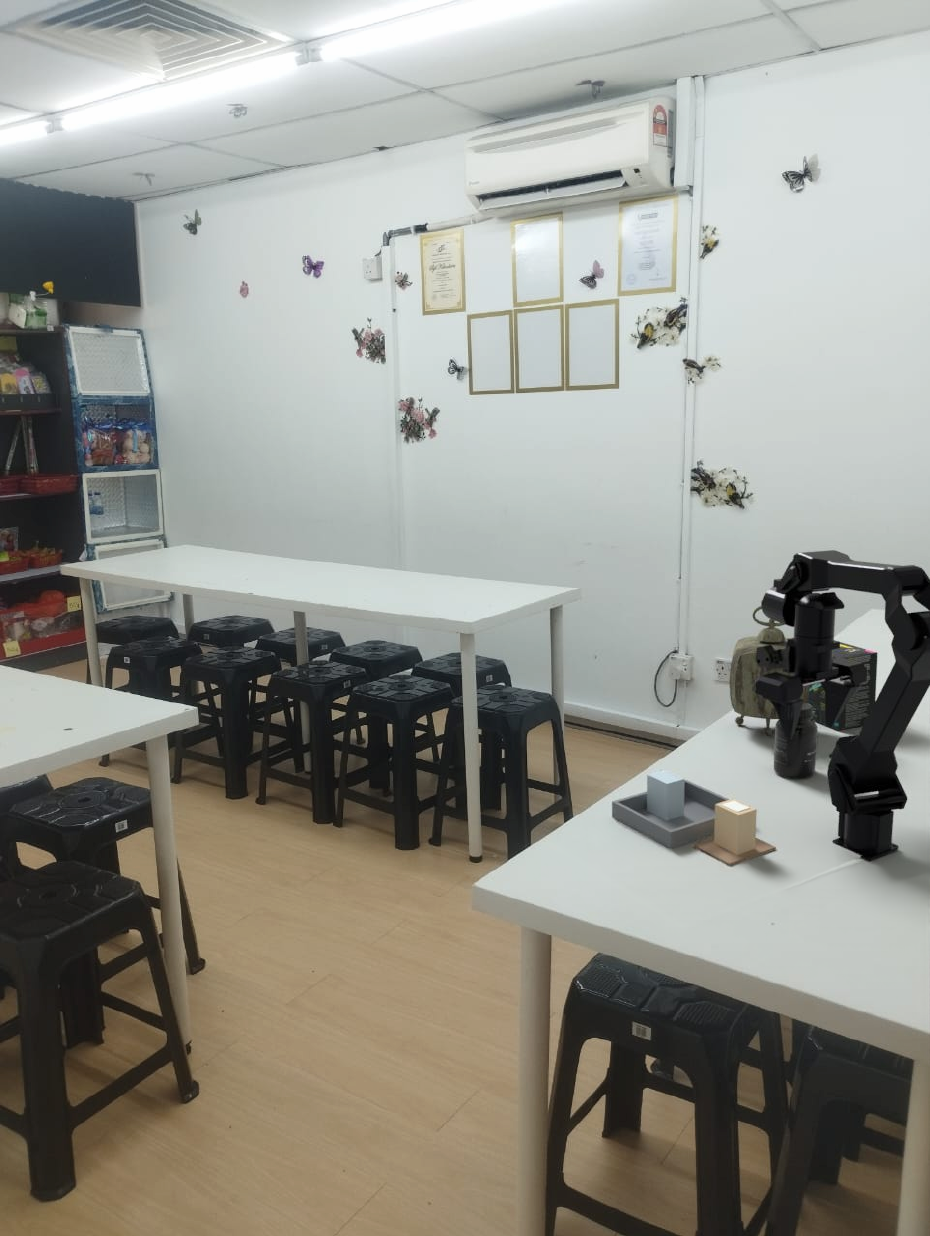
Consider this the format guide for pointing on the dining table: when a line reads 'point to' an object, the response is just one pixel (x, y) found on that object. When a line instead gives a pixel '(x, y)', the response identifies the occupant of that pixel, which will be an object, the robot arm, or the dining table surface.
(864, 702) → the tampon box
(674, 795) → the carton blue
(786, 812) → the dining table surface
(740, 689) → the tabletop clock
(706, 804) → the bin
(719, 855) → the board
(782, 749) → the supplement bottle
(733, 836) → the carton tan
